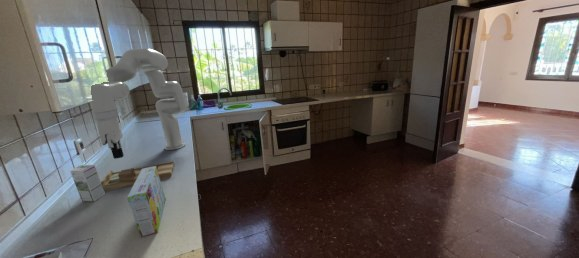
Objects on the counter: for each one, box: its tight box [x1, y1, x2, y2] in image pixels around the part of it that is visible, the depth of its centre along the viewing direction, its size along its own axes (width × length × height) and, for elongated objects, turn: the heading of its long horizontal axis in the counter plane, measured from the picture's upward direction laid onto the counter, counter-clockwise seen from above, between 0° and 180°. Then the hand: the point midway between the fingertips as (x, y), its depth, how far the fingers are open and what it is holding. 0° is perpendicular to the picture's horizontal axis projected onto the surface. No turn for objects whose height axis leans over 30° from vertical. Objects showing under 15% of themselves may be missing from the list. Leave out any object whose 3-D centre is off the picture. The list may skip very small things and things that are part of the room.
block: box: [118, 167, 136, 182], centre depth 109 cm, size 5×5×4 cm
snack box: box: [126, 166, 167, 238], centre depth 82 cm, size 21×6×15 cm, turn 21°
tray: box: [100, 160, 175, 192], centre depth 114 cm, size 14×28×4 cm, turn 110°
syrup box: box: [69, 164, 106, 203], centre depth 97 cm, size 6×6×14 cm
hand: (119, 157), depth 99 cm, fingers closed
